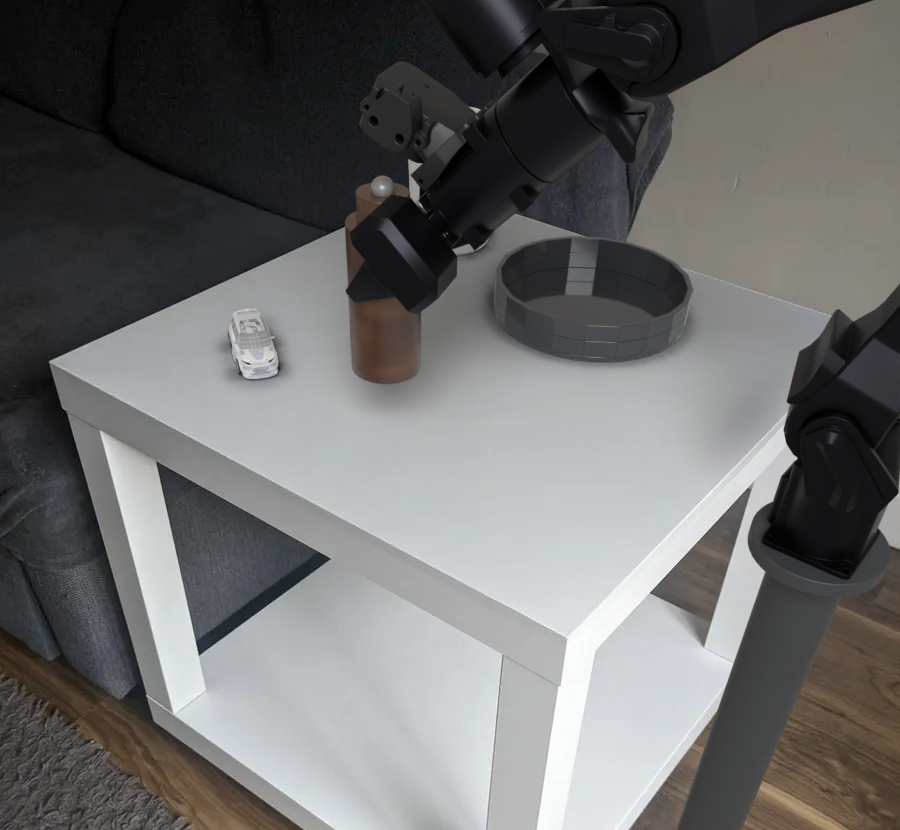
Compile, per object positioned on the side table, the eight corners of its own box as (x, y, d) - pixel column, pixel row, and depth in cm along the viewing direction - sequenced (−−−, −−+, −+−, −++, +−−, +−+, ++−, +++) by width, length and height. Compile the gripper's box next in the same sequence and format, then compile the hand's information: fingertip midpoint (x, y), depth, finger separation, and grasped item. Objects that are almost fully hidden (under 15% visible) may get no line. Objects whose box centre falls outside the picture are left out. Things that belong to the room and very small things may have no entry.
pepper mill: (435, 365, 74) (438, 176, 65) (387, 392, 72) (383, 198, 62) (385, 341, 77) (382, 155, 67) (337, 366, 74) (326, 176, 64)
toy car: (240, 385, 82) (236, 353, 80) (226, 338, 88) (222, 307, 86) (284, 379, 83) (281, 347, 81) (267, 333, 89) (264, 302, 86)
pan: (717, 308, 95) (725, 273, 93) (625, 385, 84) (631, 348, 82) (558, 253, 102) (562, 220, 100) (455, 318, 92) (457, 282, 89)
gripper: (493, -12, 64) (345, 141, 74) (377, 66, 51) (218, 238, 61) (596, 134, 67) (442, 261, 77) (512, 242, 54) (340, 376, 65)
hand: (367, 279), depth 70 cm, fingers closed on pepper mill, 5 cm apart
